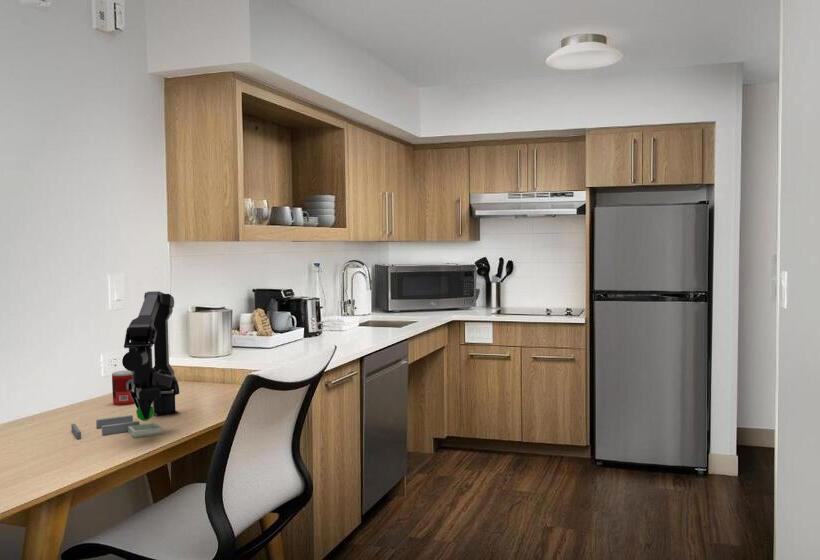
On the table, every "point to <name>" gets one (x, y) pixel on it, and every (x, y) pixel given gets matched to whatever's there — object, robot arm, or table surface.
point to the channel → (110, 425)
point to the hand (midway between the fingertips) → (144, 416)
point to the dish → (144, 430)
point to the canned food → (121, 387)
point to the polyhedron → (140, 416)
